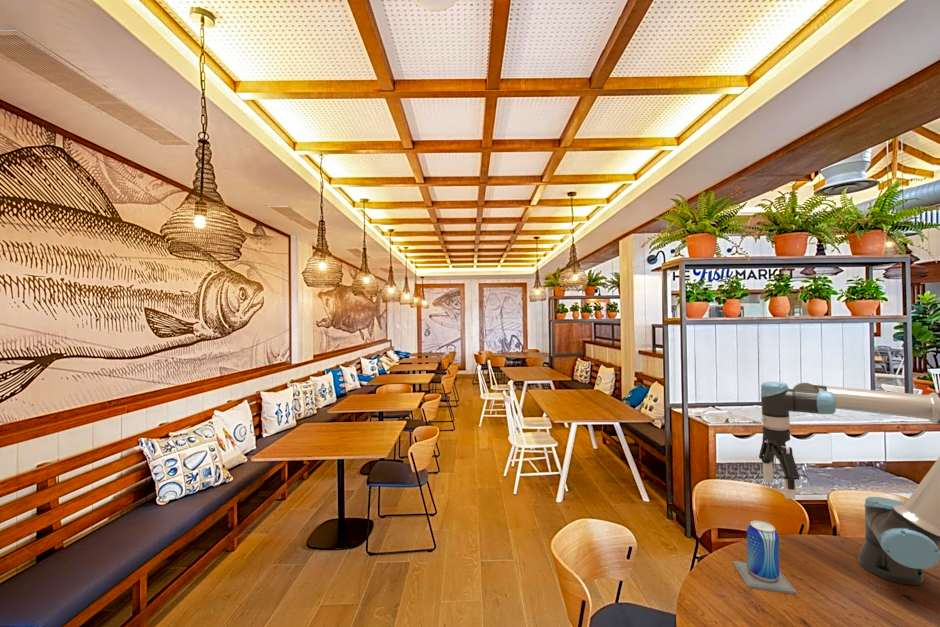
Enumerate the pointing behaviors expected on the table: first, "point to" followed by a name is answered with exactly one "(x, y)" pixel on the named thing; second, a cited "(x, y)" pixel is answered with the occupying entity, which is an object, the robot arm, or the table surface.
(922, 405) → the robot arm
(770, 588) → the plate
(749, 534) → the beer can
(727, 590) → the table surface
